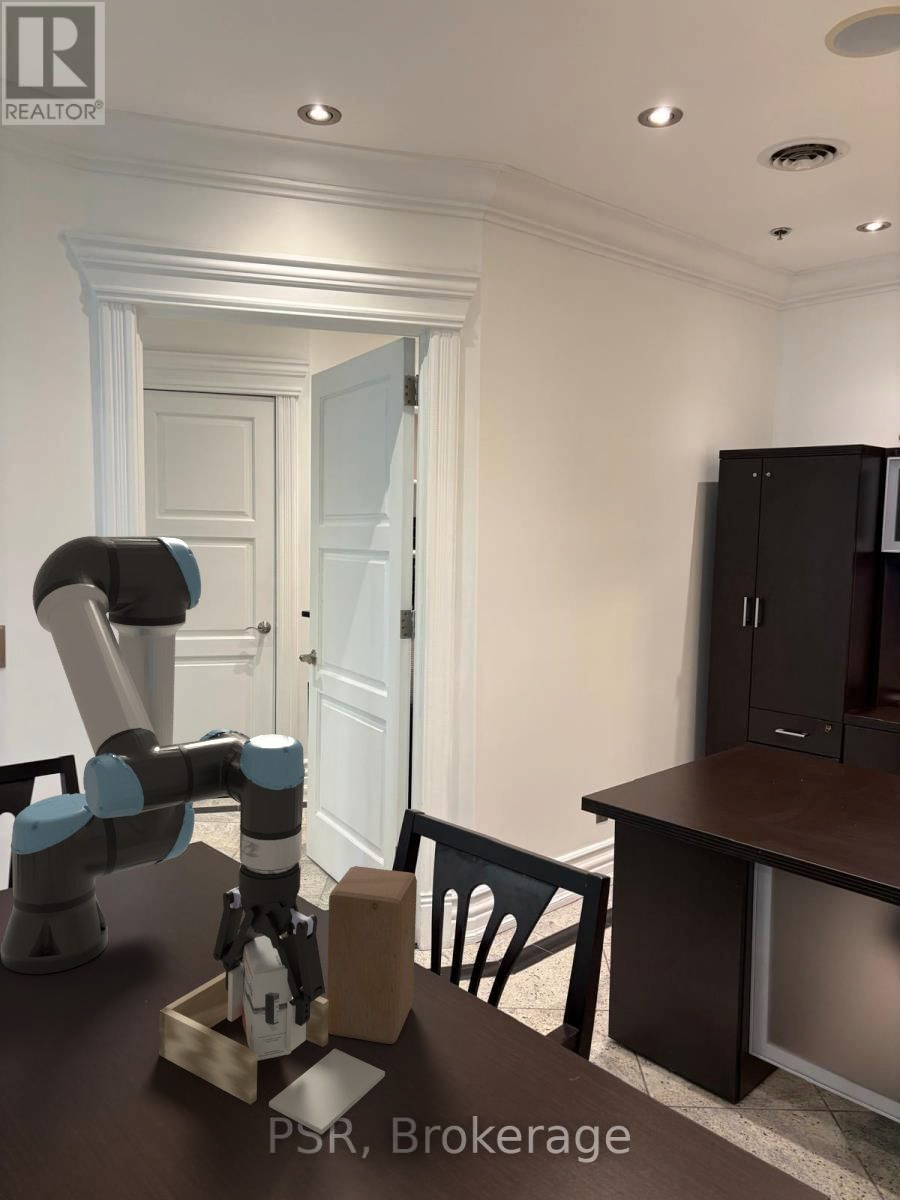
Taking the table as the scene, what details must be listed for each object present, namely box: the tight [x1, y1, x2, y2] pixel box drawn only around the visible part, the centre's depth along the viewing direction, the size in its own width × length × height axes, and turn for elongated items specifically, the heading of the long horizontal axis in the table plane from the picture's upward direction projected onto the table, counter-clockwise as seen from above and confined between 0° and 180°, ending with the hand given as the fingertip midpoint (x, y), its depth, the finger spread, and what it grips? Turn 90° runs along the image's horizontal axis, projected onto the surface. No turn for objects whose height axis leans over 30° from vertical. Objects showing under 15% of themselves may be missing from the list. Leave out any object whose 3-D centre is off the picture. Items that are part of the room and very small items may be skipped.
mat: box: [268, 1048, 386, 1136], centre depth 101 cm, size 8×12×1 cm, turn 148°
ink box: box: [241, 935, 292, 1062], centre depth 106 cm, size 8×5×12 cm, turn 23°
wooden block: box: [326, 865, 418, 1045], centre depth 115 cm, size 10×10×20 cm
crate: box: [158, 962, 329, 1105], centre depth 108 cm, size 16×14×6 cm
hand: (265, 1029), depth 107 cm, fingers closed on ink box, 9 cm apart
